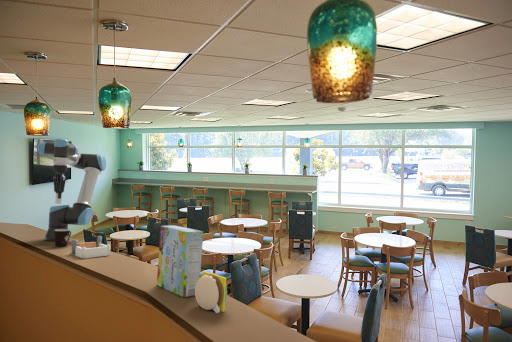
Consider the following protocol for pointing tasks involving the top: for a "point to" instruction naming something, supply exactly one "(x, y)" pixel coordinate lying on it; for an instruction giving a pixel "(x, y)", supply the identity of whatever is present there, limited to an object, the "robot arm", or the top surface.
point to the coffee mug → (61, 237)
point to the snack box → (179, 259)
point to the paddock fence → (93, 250)
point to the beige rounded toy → (211, 292)
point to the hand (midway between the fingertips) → (58, 203)
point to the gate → (82, 245)
